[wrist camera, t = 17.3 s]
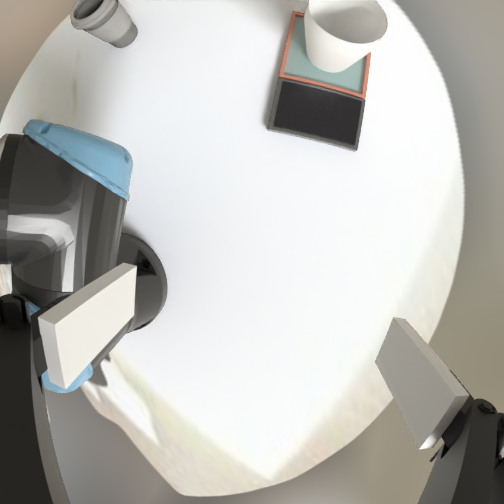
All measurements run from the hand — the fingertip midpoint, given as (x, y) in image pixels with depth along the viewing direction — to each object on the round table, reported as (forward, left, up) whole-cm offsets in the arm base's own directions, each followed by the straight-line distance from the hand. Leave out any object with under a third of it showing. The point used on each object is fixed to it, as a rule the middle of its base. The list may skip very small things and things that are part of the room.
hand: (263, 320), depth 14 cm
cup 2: (+4, +27, -26) cm, 38 cm away
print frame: (+4, +27, -27) cm, 38 cm away
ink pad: (+4, +17, -27) cm, 32 cm away
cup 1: (-28, +27, -27) cm, 47 cm away
